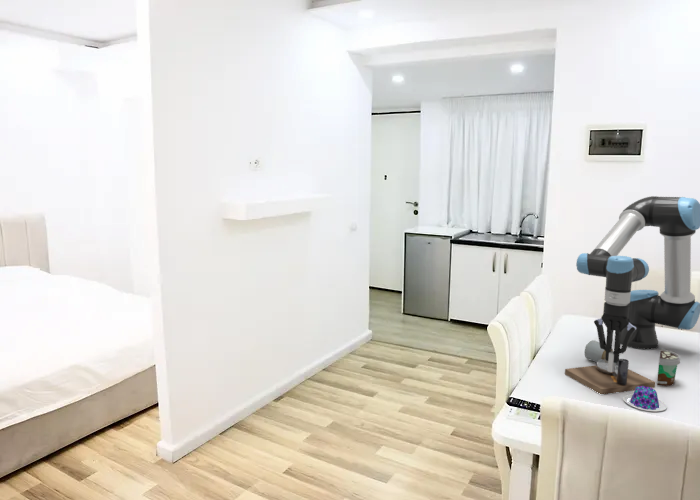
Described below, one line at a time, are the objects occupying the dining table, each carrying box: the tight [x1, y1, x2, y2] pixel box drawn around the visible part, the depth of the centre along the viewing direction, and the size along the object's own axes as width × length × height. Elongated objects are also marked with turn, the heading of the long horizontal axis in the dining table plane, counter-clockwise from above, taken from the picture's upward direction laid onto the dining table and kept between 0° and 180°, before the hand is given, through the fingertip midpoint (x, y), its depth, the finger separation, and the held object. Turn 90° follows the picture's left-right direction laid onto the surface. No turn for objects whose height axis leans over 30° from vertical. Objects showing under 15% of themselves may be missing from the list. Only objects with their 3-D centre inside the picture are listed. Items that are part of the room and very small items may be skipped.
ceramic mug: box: [584, 339, 614, 363], centre depth 199 cm, size 11×8×8 cm
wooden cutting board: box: [564, 364, 656, 395], centre depth 181 cm, size 22×18×2 cm
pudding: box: [622, 386, 668, 412], centre depth 163 cm, size 12×12×5 cm
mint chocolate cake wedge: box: [656, 348, 681, 387], centre depth 179 cm, size 12×6×10 cm, turn 148°
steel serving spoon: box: [596, 358, 630, 385], centre depth 180 cm, size 18×10×8 cm, turn 167°
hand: (611, 370), depth 173 cm, fingers closed
